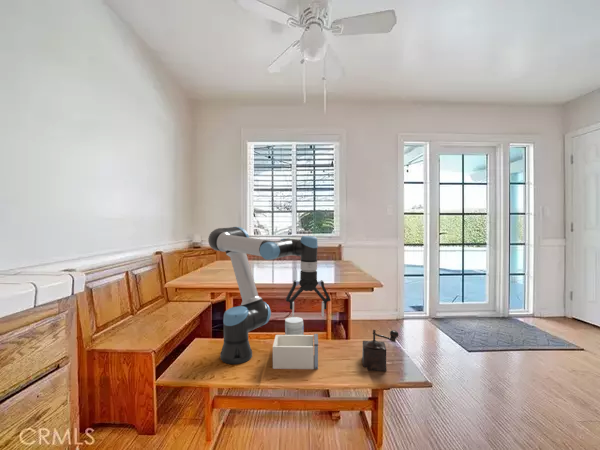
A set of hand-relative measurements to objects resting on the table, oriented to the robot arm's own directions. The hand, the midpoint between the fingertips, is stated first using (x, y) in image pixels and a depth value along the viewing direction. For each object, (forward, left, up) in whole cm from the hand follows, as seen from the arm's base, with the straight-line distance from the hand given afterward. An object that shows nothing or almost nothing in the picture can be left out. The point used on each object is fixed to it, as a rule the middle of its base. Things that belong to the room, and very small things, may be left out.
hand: (307, 316), depth 152 cm
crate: (-6, -3, -23) cm, 23 cm away
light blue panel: (+3, +2, -21) cm, 22 cm away
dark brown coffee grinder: (+29, +15, -23) cm, 40 cm away
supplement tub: (-15, +13, -23) cm, 30 cm away
